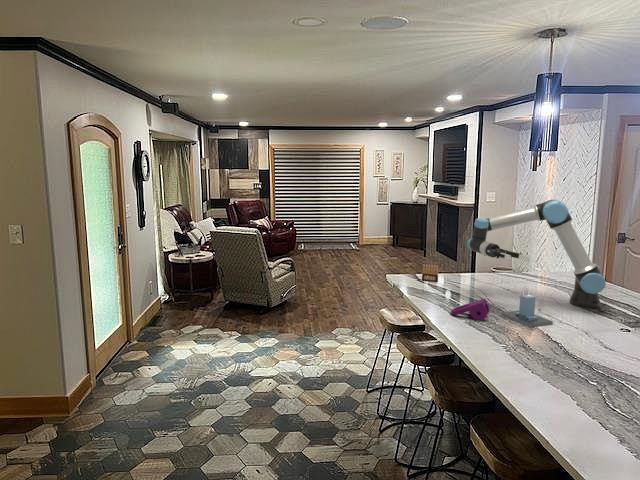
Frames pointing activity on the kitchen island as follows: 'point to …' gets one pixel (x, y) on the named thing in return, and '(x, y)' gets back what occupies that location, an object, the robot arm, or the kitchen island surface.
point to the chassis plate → (527, 322)
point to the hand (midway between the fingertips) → (519, 258)
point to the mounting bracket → (474, 309)
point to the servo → (527, 307)
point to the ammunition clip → (430, 273)
